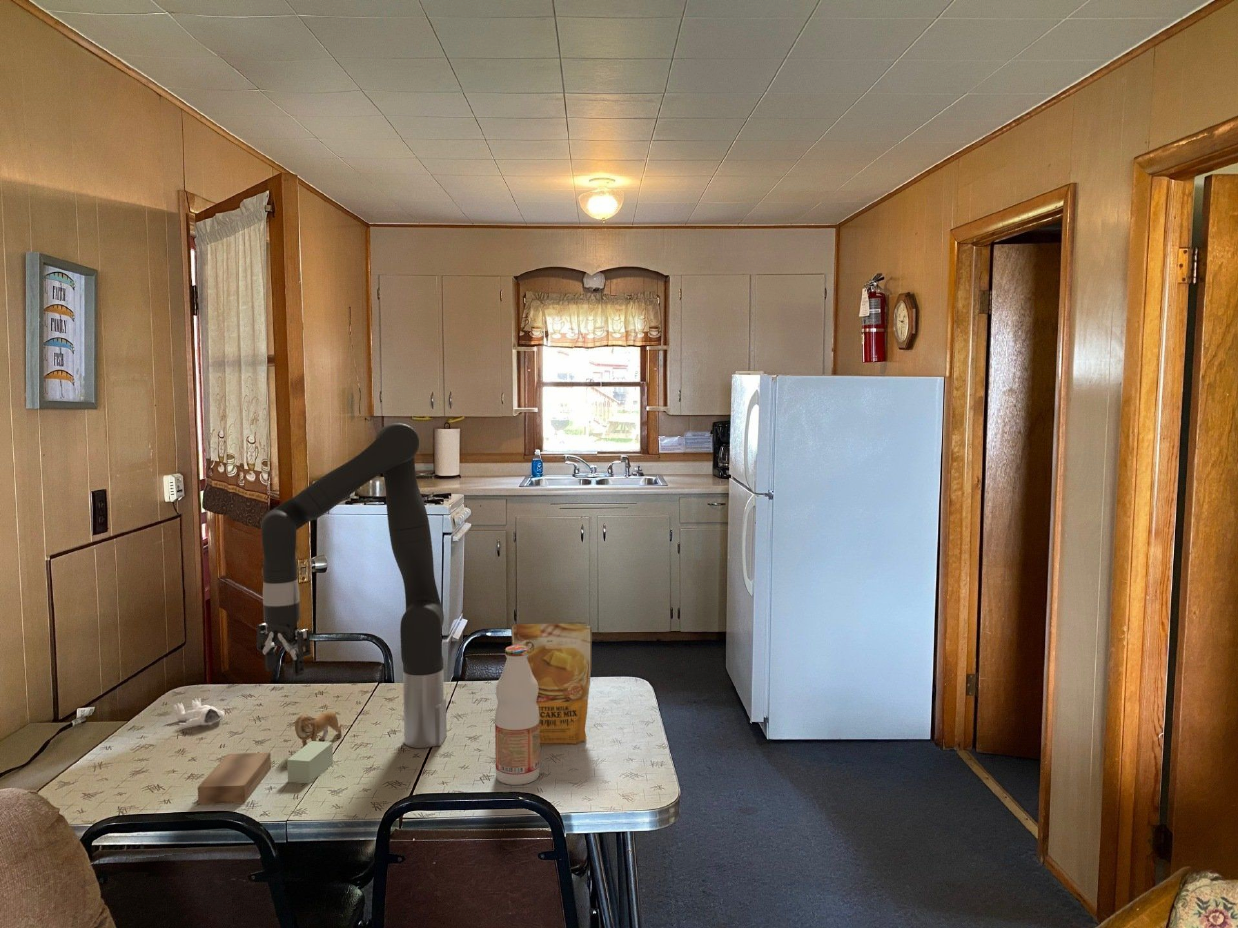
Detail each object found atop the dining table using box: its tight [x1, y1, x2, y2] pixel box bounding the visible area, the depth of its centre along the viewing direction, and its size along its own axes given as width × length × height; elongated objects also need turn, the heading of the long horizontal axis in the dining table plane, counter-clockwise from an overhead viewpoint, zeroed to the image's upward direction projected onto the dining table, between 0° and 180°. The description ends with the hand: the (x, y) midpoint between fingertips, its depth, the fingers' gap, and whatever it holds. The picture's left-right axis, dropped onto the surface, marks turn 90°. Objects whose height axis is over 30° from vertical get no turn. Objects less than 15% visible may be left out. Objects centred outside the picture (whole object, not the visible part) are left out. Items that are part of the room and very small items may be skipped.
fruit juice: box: [494, 645, 541, 786], centre depth 184 cm, size 9×9×28 cm
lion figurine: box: [294, 711, 343, 749], centre depth 201 cm, size 15×5×9 cm, turn 163°
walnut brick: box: [197, 752, 272, 805], centre depth 180 cm, size 9×16×4 cm, turn 4°
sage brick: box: [286, 740, 334, 784], centre depth 186 cm, size 5×10×5 cm, turn 171°
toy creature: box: [172, 697, 225, 731], centre depth 215 cm, size 12×6×12 cm
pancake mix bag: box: [510, 621, 593, 746], centre depth 203 cm, size 7×19×28 cm, turn 91°
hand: (284, 672), depth 191 cm, fingers open, 8 cm apart
